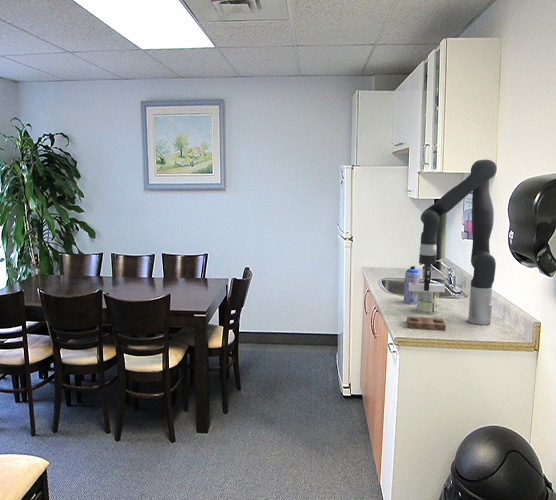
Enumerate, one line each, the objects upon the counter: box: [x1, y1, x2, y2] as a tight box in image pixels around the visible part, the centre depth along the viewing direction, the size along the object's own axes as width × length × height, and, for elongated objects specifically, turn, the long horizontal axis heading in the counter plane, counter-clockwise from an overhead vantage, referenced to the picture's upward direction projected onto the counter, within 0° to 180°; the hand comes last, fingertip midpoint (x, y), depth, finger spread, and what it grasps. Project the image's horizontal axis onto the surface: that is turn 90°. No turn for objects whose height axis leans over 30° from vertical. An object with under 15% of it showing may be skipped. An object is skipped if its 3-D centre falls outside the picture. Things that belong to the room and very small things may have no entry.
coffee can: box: [416, 281, 439, 315], centre depth 243 cm, size 10×10×14 cm
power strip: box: [409, 282, 446, 297], centre depth 226 cm, size 16×4×6 cm, turn 78°
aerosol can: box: [403, 265, 421, 306], centre depth 259 cm, size 8×8×20 cm
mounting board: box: [406, 315, 447, 332], centre depth 220 cm, size 16×10×2 cm, turn 78°
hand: (425, 289), depth 226 cm, fingers closed on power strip, 4 cm apart
